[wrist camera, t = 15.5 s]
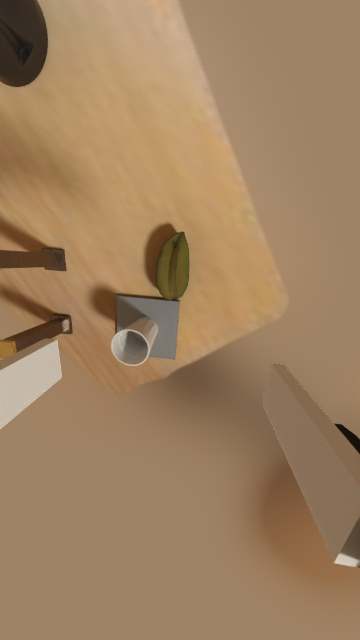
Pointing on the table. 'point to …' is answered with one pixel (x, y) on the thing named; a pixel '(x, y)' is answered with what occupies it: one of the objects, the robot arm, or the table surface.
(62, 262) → the post
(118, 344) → the cup
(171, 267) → the fruit
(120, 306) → the pad
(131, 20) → the table surface
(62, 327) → the post
